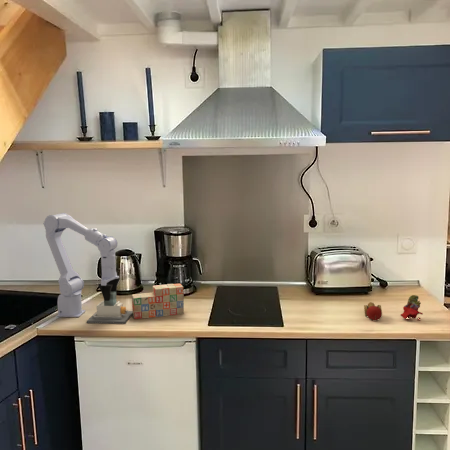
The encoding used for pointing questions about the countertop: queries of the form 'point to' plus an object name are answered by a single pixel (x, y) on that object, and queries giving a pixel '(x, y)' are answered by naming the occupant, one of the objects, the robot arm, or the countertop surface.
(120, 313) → the fuselage
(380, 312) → the kendama
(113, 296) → the tail
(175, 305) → the stack of blocks
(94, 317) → the jig board
